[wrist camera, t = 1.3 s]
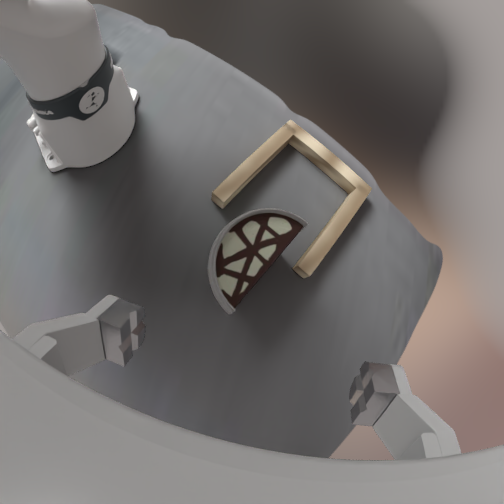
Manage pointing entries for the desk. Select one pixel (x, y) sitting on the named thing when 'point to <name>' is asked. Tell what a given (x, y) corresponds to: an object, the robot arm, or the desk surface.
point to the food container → (248, 252)
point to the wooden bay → (323, 161)
